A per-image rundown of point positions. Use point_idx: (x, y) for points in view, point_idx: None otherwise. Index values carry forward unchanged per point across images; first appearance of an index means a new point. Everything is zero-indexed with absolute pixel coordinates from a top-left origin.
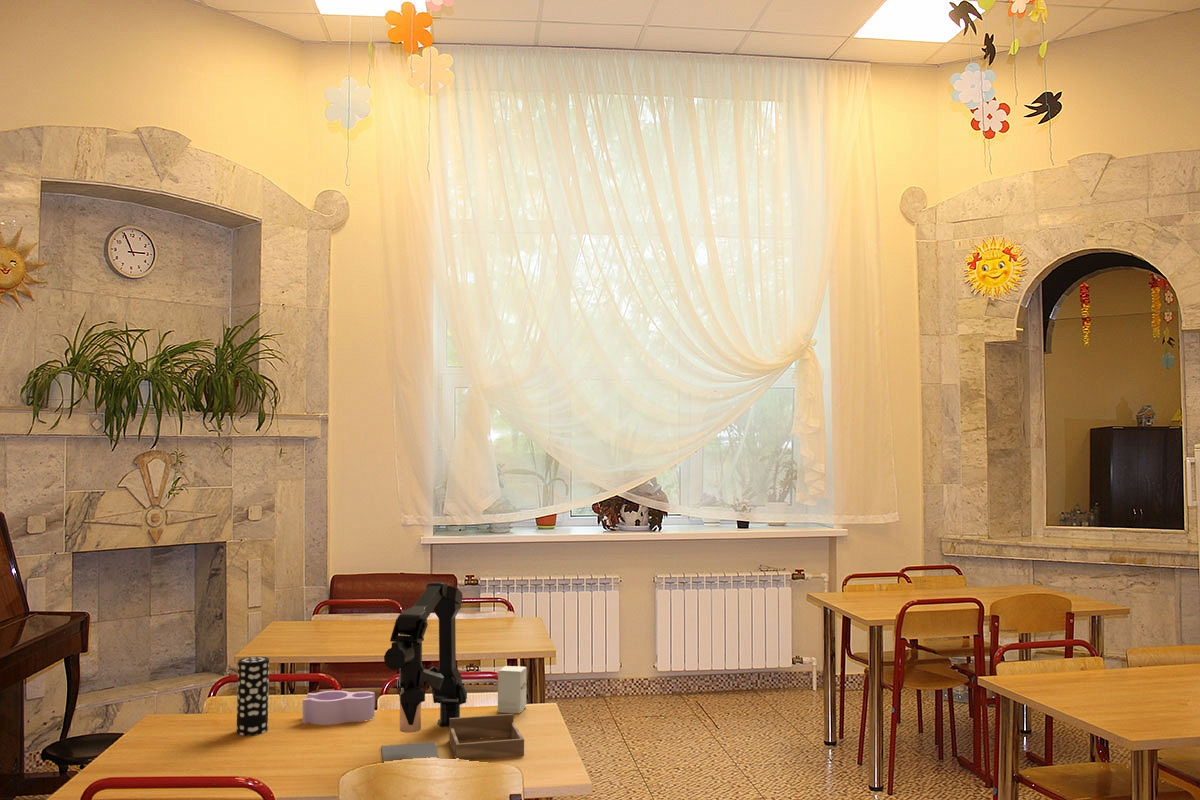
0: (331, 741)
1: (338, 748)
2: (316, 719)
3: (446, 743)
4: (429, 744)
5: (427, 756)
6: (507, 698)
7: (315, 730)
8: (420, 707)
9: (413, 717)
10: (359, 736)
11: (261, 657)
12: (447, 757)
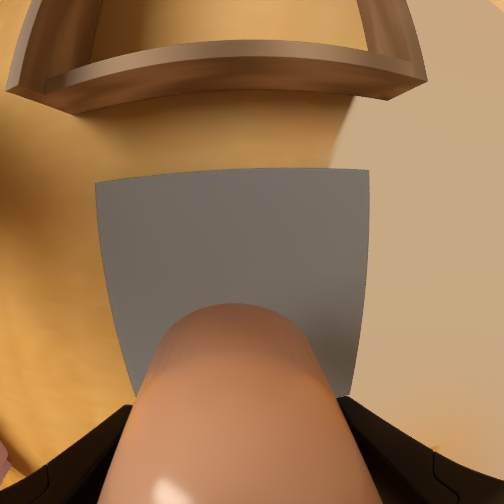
0: None
1: None
2: (4, 460)
3: (107, 123)
4: (131, 208)
5: (337, 225)
6: None
7: (36, 468)
8: (308, 476)
9: (391, 435)
10: (43, 423)
11: None
12: (336, 126)
